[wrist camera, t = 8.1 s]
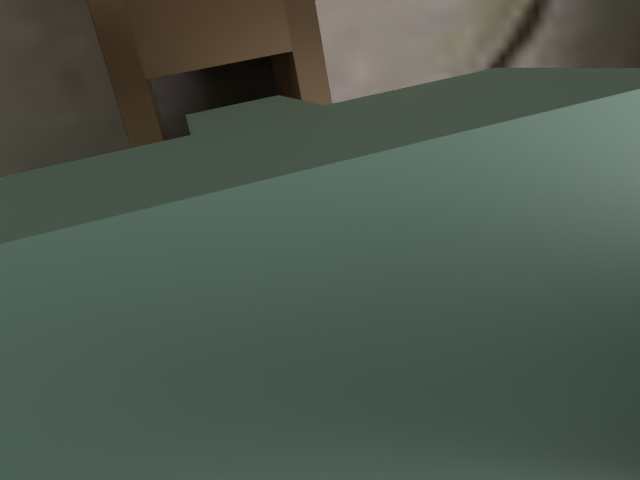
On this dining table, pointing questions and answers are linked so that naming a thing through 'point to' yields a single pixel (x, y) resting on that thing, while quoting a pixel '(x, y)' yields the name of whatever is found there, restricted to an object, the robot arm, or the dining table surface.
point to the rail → (204, 48)
